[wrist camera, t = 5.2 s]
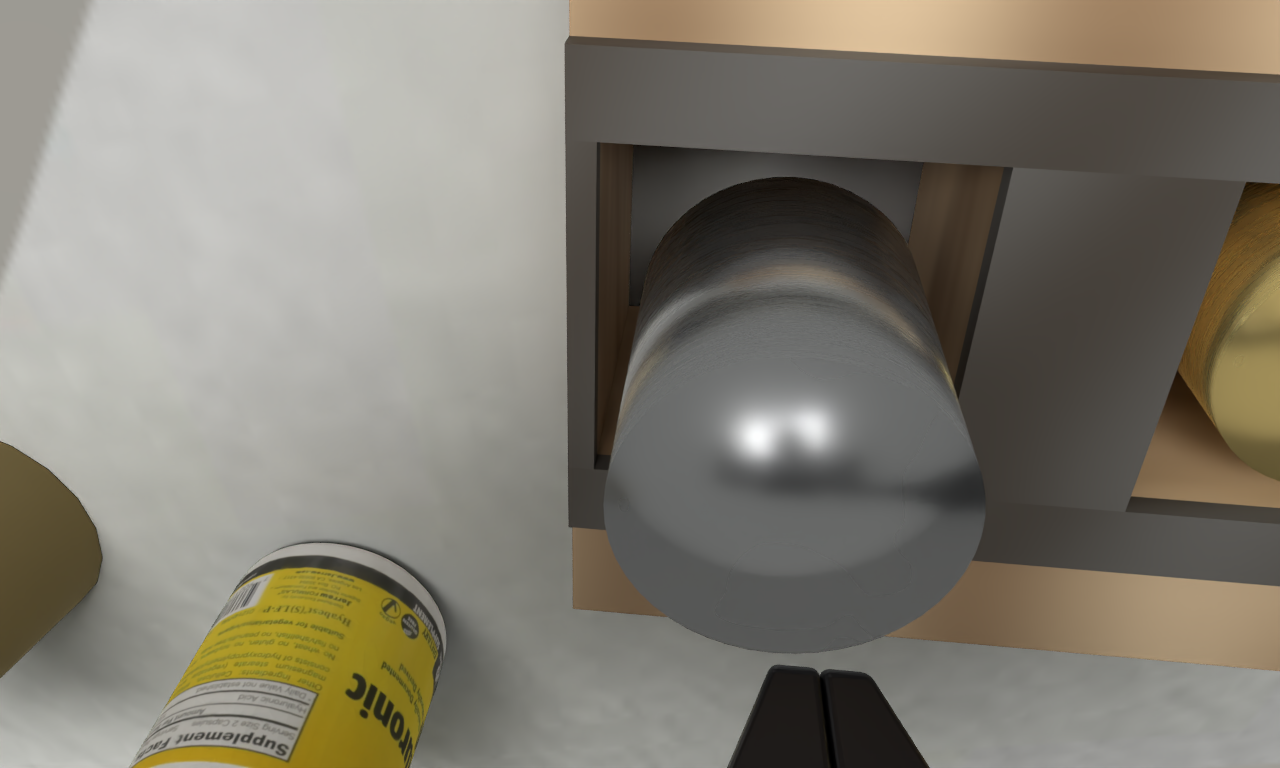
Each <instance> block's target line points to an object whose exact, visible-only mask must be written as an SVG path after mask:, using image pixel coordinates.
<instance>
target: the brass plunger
mask: <svg viewBox="0 0 1280 768" xmlns="http://www.w3.org/2000/svg"><path fill="white" fill-rule="evenodd" d="M1177 370H1178V372H1179V373H1180V375H1181V376H1182V378H1183V379H1184V381H1185V382H1186V384H1187V385H1188V387H1189V388H1190V390H1191V391H1192V393H1193V394H1194V396H1195V397H1196V399H1197V400H1198V402H1199V403H1200V405H1201V406H1202V408H1203V409H1204V410H1205V412H1206V413H1207V415H1208V416H1209V418H1210V419H1211V421H1212V422H1213V424H1214V425H1215V427H1216V428H1217V430H1218V431H1219V433H1220V434H1221V436H1222V437H1223V439H1224V440H1225V442H1226V443H1227V445H1228V446H1229V448H1230V449H1231V450H1232V451H1233V452H1234V453H1235V454H1236V455H1237V456H1238V457H1239V459H1240V460H1242V461H1243V462H1244V463H1246V464H1247V465H1248V466H1250V467H1251V468H1252V469H1254V470H1256V471H1258V472H1259V473H1261V474H1263V475H1265V476H1267V477H1270V478H1272V479H1275V480H1277V481H1280V184H1277V183H1261V182H1246V184H1245V187H1244V189H1243V192H1242V195H1241V198H1240V200H1239V203H1238V206H1237V208H1236V211H1235V214H1234V217H1233V219H1232V222H1231V225H1230V227H1229V230H1228V233H1227V236H1226V238H1225V241H1224V244H1223V247H1222V249H1221V252H1220V255H1219V257H1218V260H1217V263H1216V266H1215V268H1214V271H1213V274H1212V277H1211V279H1210V282H1209V285H1208V287H1207V290H1206V293H1205V296H1204V298H1203V301H1202V304H1201V307H1200V309H1199V312H1198V315H1197V317H1196V320H1195V323H1194V326H1193V328H1192V331H1191V334H1190V337H1189V339H1188V342H1187V345H1186V347H1185V350H1184V353H1183V356H1182V358H1181V361H1180V364H1179V366H1178V369H1177Z"/></svg>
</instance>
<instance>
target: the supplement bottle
mask: <svg viewBox="0 0 1280 768" xmlns="http://www.w3.org/2000/svg"><path fill="white" fill-rule="evenodd" d="M445 652H446V630H445V625H444V621H443V618H442V615H441V613H440V611H439V608H438V607H437V605H436V603H435V602H434V600H433V598H432V597H431V595H430V594H429V593H428V591H427V590H426V589H425V588H424V587H423V586H422V585H421V584H420V583H419V582H418V581H417V580H416V579H415V578H414V577H413V576H412V575H411V574H409V573H408V572H407V571H406V570H404V569H403V568H402V567H400V566H399V565H397V564H395V563H393V562H392V561H390V560H388V559H386V558H384V557H382V556H380V555H377V554H374V553H372V552H369V551H366V550H363V549H359V548H356V547H351V546H347V545H341V544H334V543H308V544H298V545H293V546H289V547H286V548H282V549H280V550H277V551H275V552H273V553H271V554H269V555H267V556H265V557H264V558H262V559H261V560H259V561H258V562H257V563H256V564H255V565H254V566H252V567H251V568H250V569H249V571H248V572H247V573H246V574H245V575H244V577H243V578H242V579H241V581H240V582H239V584H238V585H237V587H236V589H235V590H234V592H233V593H232V595H231V596H230V598H229V600H228V602H227V603H226V605H225V606H224V608H223V609H222V611H221V613H220V615H219V616H218V618H217V619H216V621H215V622H214V624H213V626H212V628H211V629H210V631H209V633H208V635H207V636H206V638H205V640H204V642H203V643H202V645H201V646H200V648H199V650H198V651H197V653H196V655H195V657H194V658H193V660H192V662H191V663H190V665H189V667H188V668H187V670H186V672H185V674H184V675H183V677H182V679H181V680H180V682H179V684H178V685H177V687H176V689H175V690H174V692H173V694H172V696H171V697H170V699H169V701H168V703H167V704H166V706H165V707H164V709H163V711H162V712H161V714H160V716H159V717H158V719H157V721H156V723H155V724H154V726H153V728H152V729H151V731H150V733H149V735H148V736H147V738H146V739H145V741H144V743H143V744H142V746H141V748H140V749H139V751H138V753H137V754H136V756H135V758H134V760H133V761H132V763H131V765H130V766H129V768H409V767H410V764H411V761H412V758H413V755H414V752H415V749H416V746H417V743H418V740H419V737H420V734H421V731H422V728H423V725H424V721H425V718H426V715H427V712H428V709H429V706H430V703H431V700H432V697H433V695H434V692H435V690H436V687H437V683H438V679H439V675H440V671H441V668H442V664H443V660H444V656H445Z"/></svg>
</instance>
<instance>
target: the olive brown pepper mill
mask: <svg viewBox="0 0 1280 768" xmlns="http://www.w3.org/2000/svg"><path fill="white" fill-rule="evenodd" d="M101 561H102V554H101V549H100V545H99V541H98V536H97V532H96V528H95V527H94V525H93V523H92V522H91V520H90V518H89V517H88V515H87V513H86V512H85V510H84V509H83V507H82V505H81V504H80V502H79V500H78V499H77V498H76V497H75V496H74V495H73V494H72V493H71V492H70V491H69V490H68V489H67V488H66V487H65V486H64V485H63V484H62V483H61V482H60V481H59V480H58V479H57V478H56V477H55V476H54V475H53V474H52V473H51V472H50V471H49V470H48V469H46V468H45V467H43V466H42V465H40V464H38V463H37V462H35V461H34V460H32V459H31V458H29V457H27V456H26V455H24V454H23V453H21V452H20V451H18V450H16V449H15V448H13V447H12V446H10V445H7V444H4V443H2V442H0V678H1V677H2V676H3V675H4V674H5V673H6V672H7V671H8V670H9V669H10V668H12V667H13V666H14V665H15V664H16V663H17V662H18V661H19V660H20V659H21V658H22V657H23V656H24V655H25V654H26V653H27V652H28V651H29V650H30V649H31V648H32V647H33V646H34V645H35V644H36V643H37V642H38V641H40V640H41V639H42V638H43V637H44V636H45V635H46V634H47V633H48V632H49V631H50V630H51V629H52V628H53V627H54V626H55V625H56V624H57V623H58V622H59V621H60V620H61V619H62V618H63V617H64V616H65V615H66V614H68V613H69V612H70V611H71V610H72V609H73V608H74V607H75V606H76V605H77V604H78V603H79V602H80V601H81V600H82V599H83V598H84V596H85V595H86V594H87V593H88V592H89V591H90V590H91V588H92V587H93V586H94V585H95V584H96V583H97V580H98V575H99V571H100V566H101Z"/></svg>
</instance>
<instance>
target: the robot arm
mask: <svg viewBox="0 0 1280 768" xmlns="http://www.w3.org/2000/svg"><path fill="white" fill-rule="evenodd" d="M727 768H930V767H929V766H928V764H927V763H926V761H925V760H924V758H923V756H922V755H921V753H920V752H919V750H918V749H917V747H916V745H915V744H914V742H913V741H912V739H911V738H910V736H909V735H908V733H907V731H906V730H905V728H904V727H903V725H902V724H901V722H900V720H899V719H898V717H897V716H896V714H895V713H894V711H893V710H892V708H891V706H890V705H889V703H888V702H887V700H886V699H885V697H884V695H883V694H882V692H881V691H880V689H879V688H878V686H877V684H876V683H875V682H874V680H873V679H872V678H871V677H870V676H869V675H867V674H866V673H862V672H853V671H842V670H831V669H828V670H824V671H823V672H821V674H820V675H819V674H818V672H817V671H816V670H815V669H813V668H809V667H797V666H786V665H774V666H772V667H771V668H770V669H769V671H768V673H767V675H766V678H765V680H764V682H763V685H762V687H761V689H760V692H759V694H758V697H757V699H756V701H755V704H754V706H753V708H752V711H751V713H750V715H749V718H748V720H747V722H746V725H745V727H744V729H743V732H742V734H741V737H740V739H739V741H738V744H737V746H736V748H735V751H734V753H733V755H732V758H731V760H730V762H729V765H728V767H727Z"/></svg>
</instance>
